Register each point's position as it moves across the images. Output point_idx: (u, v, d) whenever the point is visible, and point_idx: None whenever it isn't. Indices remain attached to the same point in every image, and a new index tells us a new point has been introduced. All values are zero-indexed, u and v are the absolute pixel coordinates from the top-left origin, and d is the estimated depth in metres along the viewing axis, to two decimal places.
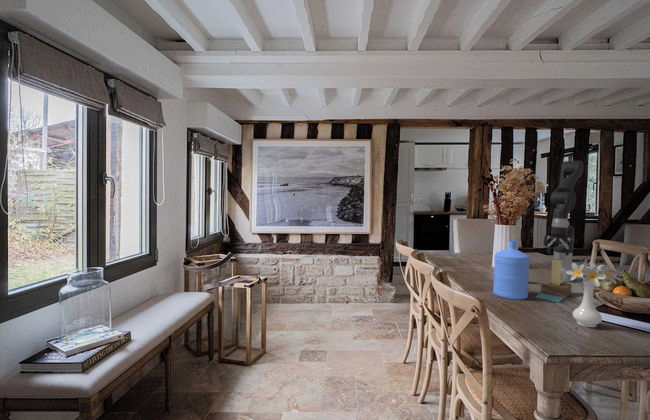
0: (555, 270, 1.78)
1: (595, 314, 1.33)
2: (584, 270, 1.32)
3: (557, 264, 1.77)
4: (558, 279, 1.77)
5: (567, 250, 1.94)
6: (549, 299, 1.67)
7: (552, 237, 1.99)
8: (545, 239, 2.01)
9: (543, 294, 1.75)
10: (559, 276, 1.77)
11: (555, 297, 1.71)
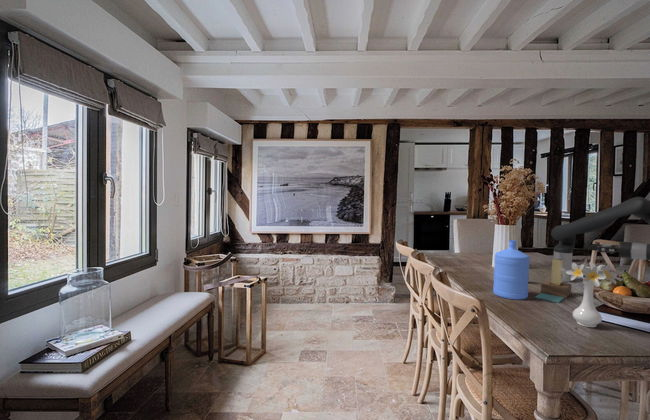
0: (555, 270, 1.78)
1: (595, 314, 1.33)
2: (584, 270, 1.32)
3: (557, 264, 1.77)
4: (558, 279, 1.77)
5: None
6: (549, 299, 1.67)
7: None
8: None
9: (543, 294, 1.75)
10: (559, 276, 1.77)
11: (555, 297, 1.71)
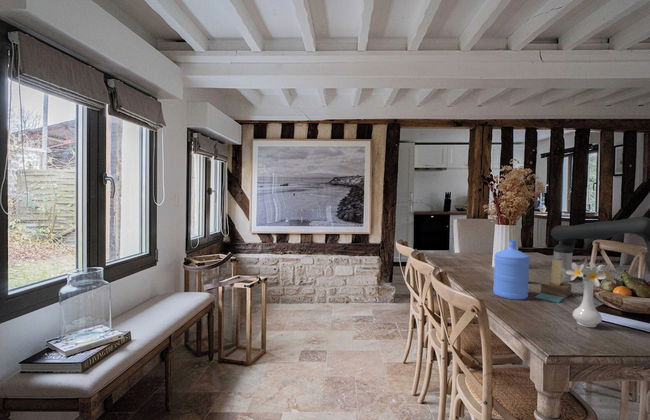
0: (555, 270, 1.78)
1: (595, 314, 1.33)
2: (584, 270, 1.32)
3: (557, 264, 1.77)
4: (558, 279, 1.77)
5: None
6: (549, 299, 1.67)
7: None
8: None
9: (543, 294, 1.75)
10: (559, 276, 1.77)
11: (555, 297, 1.71)
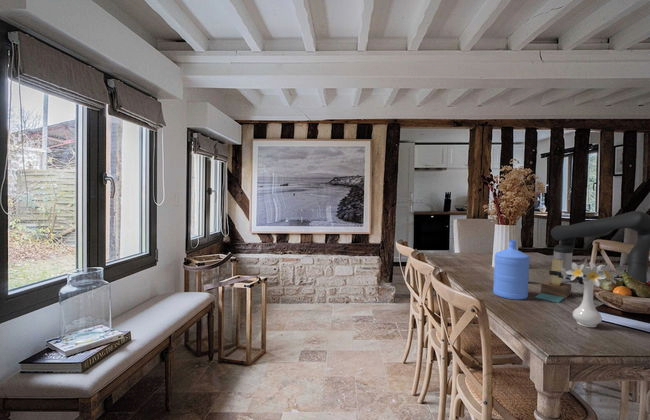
0: (555, 270, 1.78)
1: (595, 314, 1.33)
2: (584, 270, 1.32)
3: (557, 264, 1.77)
4: (558, 279, 1.77)
5: None
6: (549, 299, 1.67)
7: None
8: None
9: (543, 294, 1.75)
10: None
11: (555, 297, 1.71)
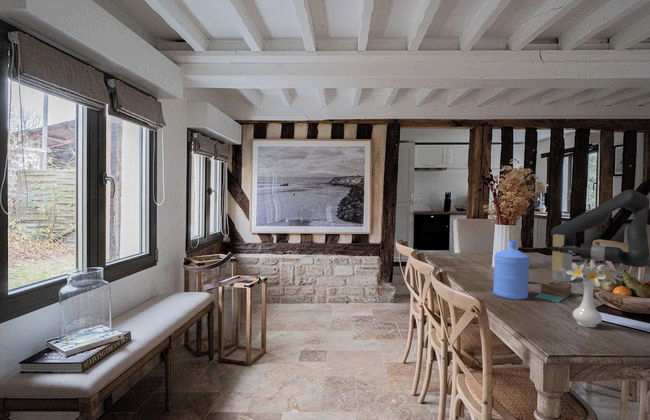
0: (557, 246, 1.75)
1: (595, 314, 1.33)
2: (584, 270, 1.32)
3: (558, 239, 1.75)
4: (559, 255, 1.74)
5: None
6: (549, 299, 1.67)
7: (573, 253, 1.69)
8: None
9: (543, 294, 1.75)
10: None
11: (555, 297, 1.71)
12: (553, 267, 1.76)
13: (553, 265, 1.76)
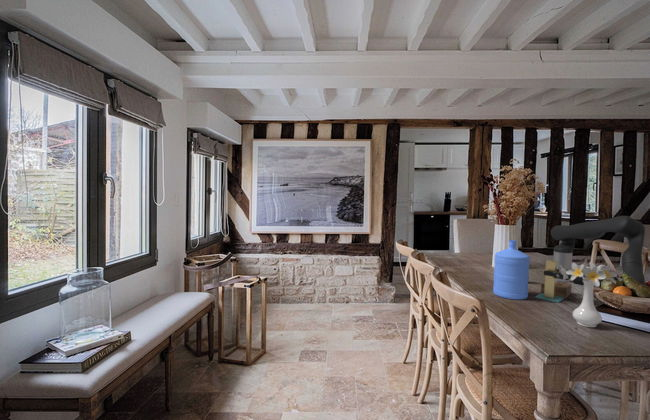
0: None
1: (595, 314, 1.33)
2: (584, 270, 1.32)
3: (551, 266, 1.69)
4: (552, 282, 1.68)
5: None
6: (549, 299, 1.67)
7: None
8: None
9: (543, 294, 1.75)
10: (553, 279, 1.68)
11: (555, 297, 1.71)
12: (545, 294, 1.71)
13: (545, 292, 1.71)
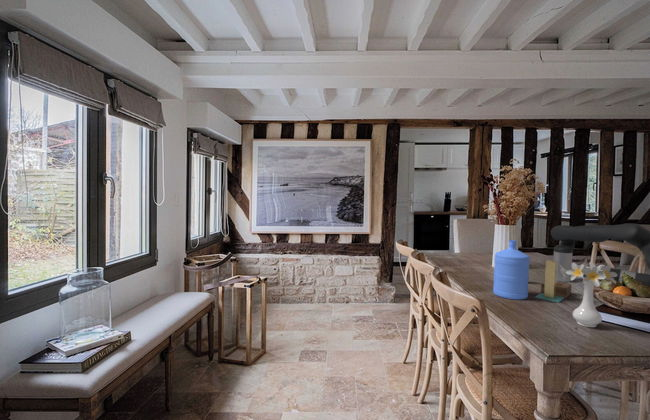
0: (549, 272, 1.69)
1: (595, 314, 1.33)
2: (584, 270, 1.32)
3: (551, 266, 1.69)
4: (552, 282, 1.68)
5: None
6: (549, 299, 1.67)
7: None
8: None
9: (543, 294, 1.75)
10: (553, 279, 1.68)
11: (555, 297, 1.71)
12: (545, 294, 1.71)
13: (545, 292, 1.71)
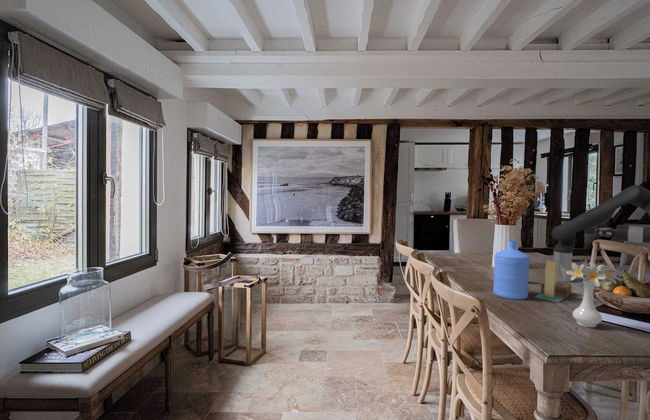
0: (549, 272, 1.69)
1: (595, 314, 1.33)
2: (584, 270, 1.32)
3: (551, 266, 1.69)
4: (552, 282, 1.68)
5: None
6: (549, 299, 1.67)
7: None
8: None
9: (543, 294, 1.75)
10: (553, 279, 1.68)
11: (555, 297, 1.71)
12: (545, 294, 1.71)
13: (545, 292, 1.71)
